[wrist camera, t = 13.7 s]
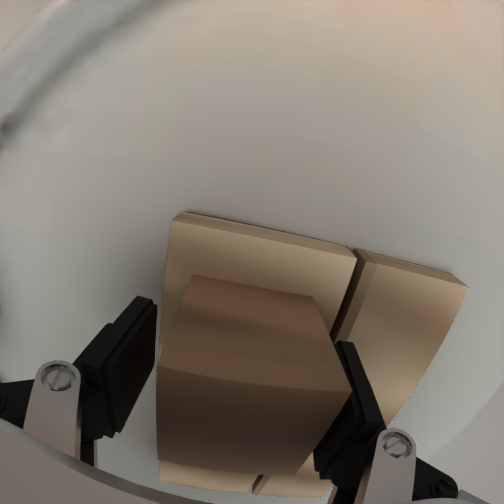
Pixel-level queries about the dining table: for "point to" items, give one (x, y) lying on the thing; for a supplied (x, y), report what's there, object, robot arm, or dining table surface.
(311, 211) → the dining table surface
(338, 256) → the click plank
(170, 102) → the dining table surface
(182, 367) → the walnut block
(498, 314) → the dining table surface
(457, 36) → the dining table surface
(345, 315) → the laid board
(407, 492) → the robot arm
